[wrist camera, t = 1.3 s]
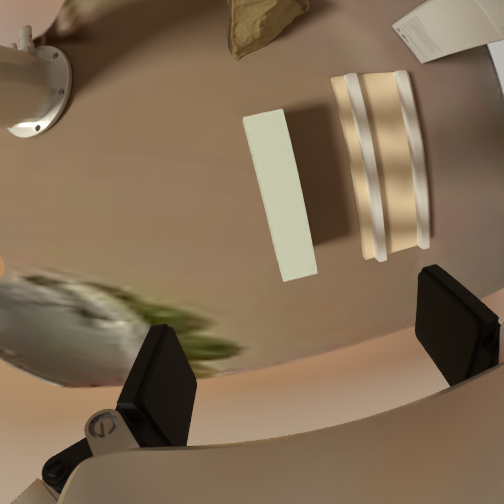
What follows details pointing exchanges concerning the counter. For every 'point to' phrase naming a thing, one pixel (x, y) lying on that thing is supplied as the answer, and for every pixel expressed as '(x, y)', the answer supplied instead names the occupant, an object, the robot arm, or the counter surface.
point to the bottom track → (385, 160)
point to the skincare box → (451, 26)
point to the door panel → (281, 193)
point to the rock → (259, 22)
